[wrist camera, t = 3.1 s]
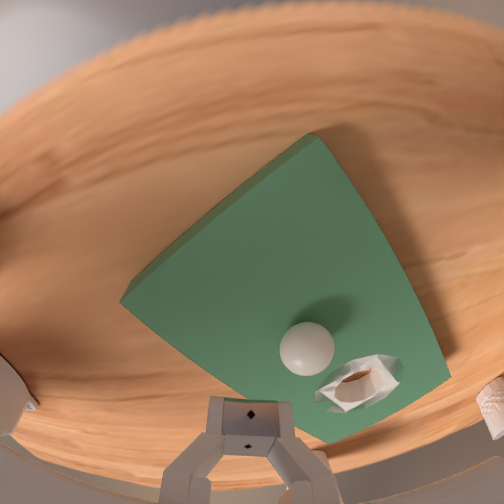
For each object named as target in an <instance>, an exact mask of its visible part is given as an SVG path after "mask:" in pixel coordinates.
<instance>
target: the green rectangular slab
mask: <svg viewBox="0 0 504 504" xmlns="http://www.w3.org/2000/svg"><path fill="white" fill-rule="evenodd" d="M120 303H121V304H122V305H123V306H124V307H125V308H126V309H128V310H129V311H130V312H131V313H132V314H133V315H135V316H136V317H137V318H138V319H139V320H141V321H142V322H143V323H144V324H145V325H147V326H148V327H149V328H150V329H151V330H153V331H154V332H155V333H156V334H158V335H159V336H160V337H161V338H163V339H164V340H165V341H167V342H168V343H169V344H170V345H172V346H173V347H174V348H176V349H177V350H178V351H180V352H181V353H182V354H184V355H185V356H186V357H188V358H189V359H190V360H192V361H193V362H195V363H196V364H197V365H199V366H200V367H201V368H203V369H204V370H206V371H207V372H209V373H210V374H211V375H213V376H214V377H216V378H217V379H219V380H220V381H222V382H223V383H225V384H226V385H228V386H229V387H231V388H232V389H234V390H235V391H237V392H238V393H240V394H241V395H243V396H245V397H246V398H248V399H249V400H250V399H251V400H276V401H290V402H291V404H292V413H293V421H294V426H295V427H297V428H299V429H301V430H303V431H305V432H306V433H308V434H310V435H312V436H314V437H316V438H318V439H320V440H322V441H324V442H326V443H328V444H332V443H335V442H337V441H339V440H342V439H344V438H346V437H348V436H351V435H353V434H355V433H357V432H359V431H361V430H363V429H365V428H367V427H369V426H371V425H373V424H375V423H377V422H379V421H381V420H383V419H385V418H387V417H388V416H390V415H392V414H394V413H396V412H397V411H399V410H401V409H403V408H404V407H406V406H408V405H409V404H411V403H413V402H414V401H416V400H418V399H419V398H421V397H422V396H424V395H425V394H427V393H429V392H430V391H432V390H433V389H435V388H436V387H438V386H439V385H441V384H442V383H443V382H445V381H446V380H448V379H449V378H451V375H450V372H449V369H448V367H447V364H446V362H445V359H444V356H443V354H442V351H441V349H440V347H439V344H438V342H437V339H436V337H435V335H434V332H433V330H432V328H431V326H430V323H429V321H428V319H427V317H426V314H425V312H424V310H423V308H422V306H421V304H420V302H419V300H418V298H417V296H416V293H415V291H414V289H413V287H412V285H411V283H410V281H409V280H408V278H407V276H406V274H405V272H404V270H403V268H402V266H401V264H400V262H399V261H398V259H397V257H396V255H395V253H394V251H393V250H392V248H391V246H390V244H389V242H388V241H387V239H386V237H385V236H384V234H383V232H382V230H381V229H380V227H379V225H378V224H377V222H376V220H375V219H374V217H373V215H372V214H371V212H370V210H369V209H368V207H367V206H366V204H365V202H364V201H363V199H362V198H361V196H360V195H359V193H358V192H357V190H356V188H355V187H354V185H353V184H352V182H351V181H350V179H349V178H348V176H347V175H346V173H345V172H344V171H343V169H342V168H341V166H340V165H339V163H338V162H337V160H336V159H335V158H334V156H333V155H332V153H331V152H330V151H329V149H328V148H327V147H326V145H325V144H324V142H323V141H322V140H321V138H320V137H319V136H316V135H313V134H310V133H308V134H307V135H305V136H304V137H302V138H301V139H300V140H298V141H297V142H296V143H295V144H293V145H292V146H291V147H289V148H288V149H287V150H285V151H284V152H283V153H281V154H280V155H279V156H278V157H276V158H275V159H274V160H272V161H271V162H270V163H269V164H267V165H266V166H265V167H263V168H262V169H261V170H260V171H258V172H257V173H256V174H255V175H253V176H252V177H251V178H250V179H248V180H247V181H246V182H245V183H243V184H242V185H241V186H240V187H238V188H237V189H236V190H235V191H234V192H232V193H231V194H230V195H229V196H228V197H226V198H225V199H224V200H223V201H221V202H220V203H219V204H218V205H217V206H216V207H214V208H213V209H212V210H211V211H210V212H208V213H207V214H206V215H205V216H204V217H203V218H201V219H200V220H199V221H198V222H197V223H195V224H194V225H193V226H192V227H191V228H190V229H189V230H187V231H186V232H185V233H184V234H183V235H182V236H181V237H179V238H178V239H177V240H176V241H175V242H174V243H173V244H171V245H170V246H169V247H168V248H167V249H166V250H165V251H164V252H163V253H161V254H160V255H159V256H158V257H157V258H156V259H155V260H154V261H153V262H151V263H150V264H149V265H148V266H147V267H146V268H145V269H144V270H143V271H142V272H141V273H140V274H138V275H137V276H136V277H135V278H134V279H133V280H132V281H131V282H130V284H129V286H128V288H127V289H126V291H125V293H124V295H123V297H122V299H121V300H120ZM302 322H314V323H317V324H320V325H321V326H323V327H325V328H326V329H327V330H328V331H329V333H330V334H331V336H332V338H333V341H334V347H335V350H334V355H333V359H332V361H331V362H330V364H329V365H328V366H327V367H326V368H325V369H324V370H323V371H321V372H320V373H318V374H315V375H311V376H301V375H298V374H295V373H293V372H291V371H290V370H289V369H288V368H287V367H286V366H285V365H284V364H283V362H282V360H281V357H280V343H281V340H282V338H283V336H284V334H285V333H286V332H287V331H288V330H289V329H290V328H291V327H292V326H294V325H296V324H299V323H302ZM368 369H372V370H371V371H370V372H369V373H368V374H366V375H365V376H363V377H361V378H360V379H358V380H354V381H349V382H341V381H342V380H343V379H345V378H347V377H349V376H351V375H352V374H354V373H356V372H360V371H364V370H368Z"/></svg>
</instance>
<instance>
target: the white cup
mask: <svg viewBox="0 0 504 504" xmlns="http://www.w3.org/2000/svg"><path fill="white" fill-rule="evenodd" d="M476 400H477V402H478V404H479V406H480V409H481V412H482V415H483V417H484V419H485V422H486V424H487V426H488V429H489V431H490V433H491V436H492V438H493V440H496V439H498V438H500V437H502V436H503V435H504V378H503V377H497V378H495V379H494V380H492V381H491V382H490V383H488V384H487V385H486V386H485V387H484V388H483V389H482V390H481V391H480V392H479V394H478V395H477V397H476Z"/></svg>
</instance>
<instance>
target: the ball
mask: <svg viewBox="0 0 504 504" xmlns="http://www.w3.org/2000/svg"><path fill="white" fill-rule="evenodd" d="M334 350H335V347H334V341H333V338H332V336H331V334H330V333H329V331H328V330H327V329H326V328H325V327H323V326H321V325H320V324H317V323H314V322H302V323H299V324H296V325H294V326H292V327H291V328H290V329H289V330H288V331H287V332H286V333H285V334H284V336H283V338H282V340H281V343H280V357H281V360H282V362H283V364H284V365H285V366H286V367H287V368H288V369H289V370H290V371H291V372H293V373H295V374H298V375H301V376H311V375H315V374H318V373H320V372H321V371H323V370H324V369H325V368H326V367H327V366H328V365H329V364H330V362H331V361H332V359H333V355H334Z"/></svg>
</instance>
